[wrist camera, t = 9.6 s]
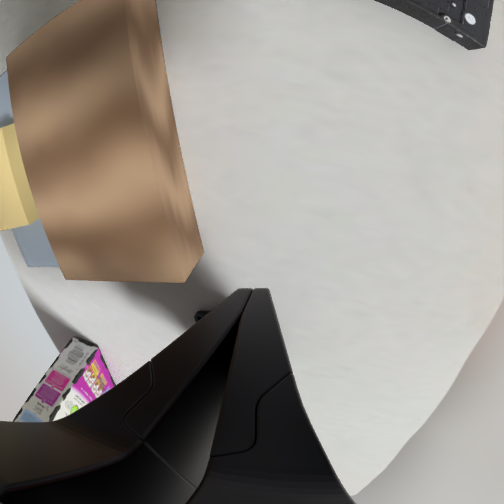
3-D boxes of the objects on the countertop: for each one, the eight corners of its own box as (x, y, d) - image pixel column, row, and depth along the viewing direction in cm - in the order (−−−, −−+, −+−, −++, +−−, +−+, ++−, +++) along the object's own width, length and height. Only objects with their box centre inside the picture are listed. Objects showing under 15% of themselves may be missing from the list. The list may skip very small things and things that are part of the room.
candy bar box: (71, 334, 33) (7, 423, 20) (99, 345, 33) (35, 444, 19) (94, 380, 39) (48, 458, 25) (119, 391, 39) (75, 474, 25)
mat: (90, 265, 26) (89, 266, 25) (29, 265, 28) (27, 266, 28) (36, 47, 15) (34, 47, 15) (-19, 97, 18) (-21, 97, 18)
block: (0, 230, 24) (11, 222, 25) (28, 224, 22) (42, 216, 24) (-24, 148, 19) (-11, 143, 21) (1, 127, 17) (17, 122, 19)
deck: (203, 252, 22) (184, 282, 19) (90, 256, 25) (65, 279, 22) (154, -9, 13) (122, -24, 9) (40, 54, 16) (6, 57, 12)
